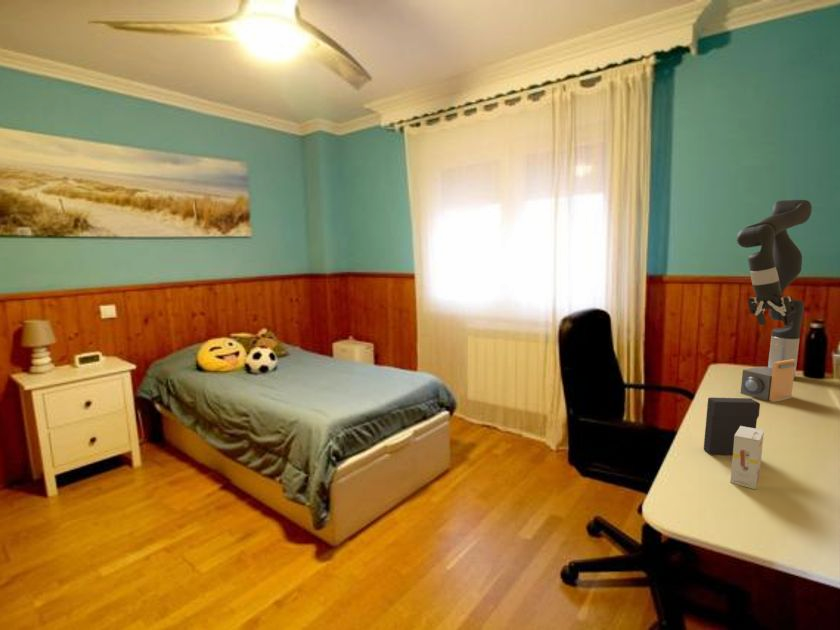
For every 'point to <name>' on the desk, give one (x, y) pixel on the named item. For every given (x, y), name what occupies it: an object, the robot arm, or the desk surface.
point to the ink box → (747, 456)
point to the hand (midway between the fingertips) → (774, 325)
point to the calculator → (727, 422)
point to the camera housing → (757, 382)
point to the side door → (782, 380)
